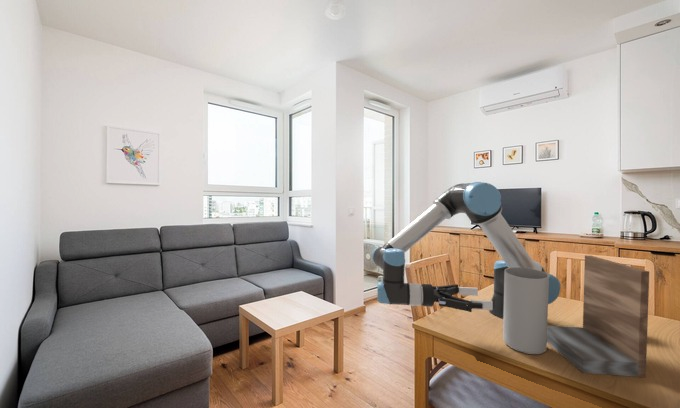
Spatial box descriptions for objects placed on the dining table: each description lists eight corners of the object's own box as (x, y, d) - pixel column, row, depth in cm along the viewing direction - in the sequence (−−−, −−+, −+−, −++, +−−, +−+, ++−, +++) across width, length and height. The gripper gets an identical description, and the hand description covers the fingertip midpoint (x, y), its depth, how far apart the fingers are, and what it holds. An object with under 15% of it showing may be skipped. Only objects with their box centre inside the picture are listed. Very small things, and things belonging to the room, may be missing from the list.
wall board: (582, 372, 83) (585, 269, 83) (539, 336, 105) (541, 254, 104) (645, 377, 81) (649, 271, 81) (588, 338, 103) (591, 255, 102)
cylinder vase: (555, 351, 94) (558, 276, 92) (526, 358, 91) (528, 281, 89) (521, 332, 106) (523, 265, 104) (494, 338, 103) (495, 269, 101)
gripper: (416, 293, 115) (471, 296, 112) (427, 320, 90) (499, 324, 87) (416, 274, 114) (472, 277, 112) (427, 296, 90) (500, 300, 87)
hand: (484, 298), depth 100 cm, fingers open, 13 cm apart
